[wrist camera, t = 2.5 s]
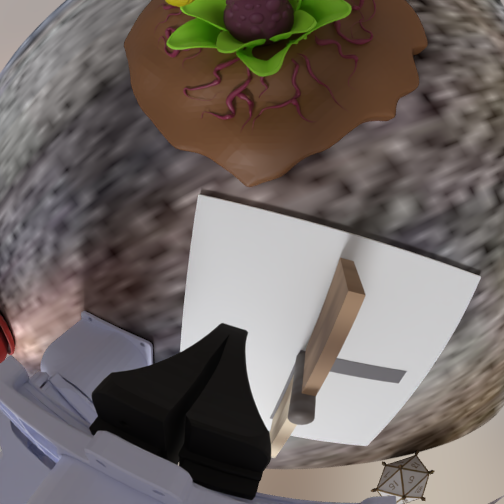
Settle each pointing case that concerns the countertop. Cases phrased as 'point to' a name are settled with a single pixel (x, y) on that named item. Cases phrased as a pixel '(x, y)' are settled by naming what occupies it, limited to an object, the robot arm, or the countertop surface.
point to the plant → (270, 75)
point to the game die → (404, 480)
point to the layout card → (309, 307)
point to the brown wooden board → (332, 325)
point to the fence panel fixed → (292, 409)
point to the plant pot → (5, 340)
